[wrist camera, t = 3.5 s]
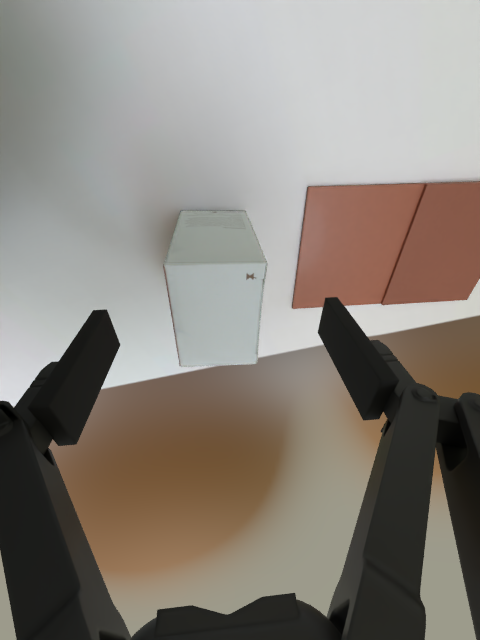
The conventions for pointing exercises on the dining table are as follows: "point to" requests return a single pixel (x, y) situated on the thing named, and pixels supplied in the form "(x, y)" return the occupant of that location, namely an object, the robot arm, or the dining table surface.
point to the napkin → (389, 244)
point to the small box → (215, 288)
